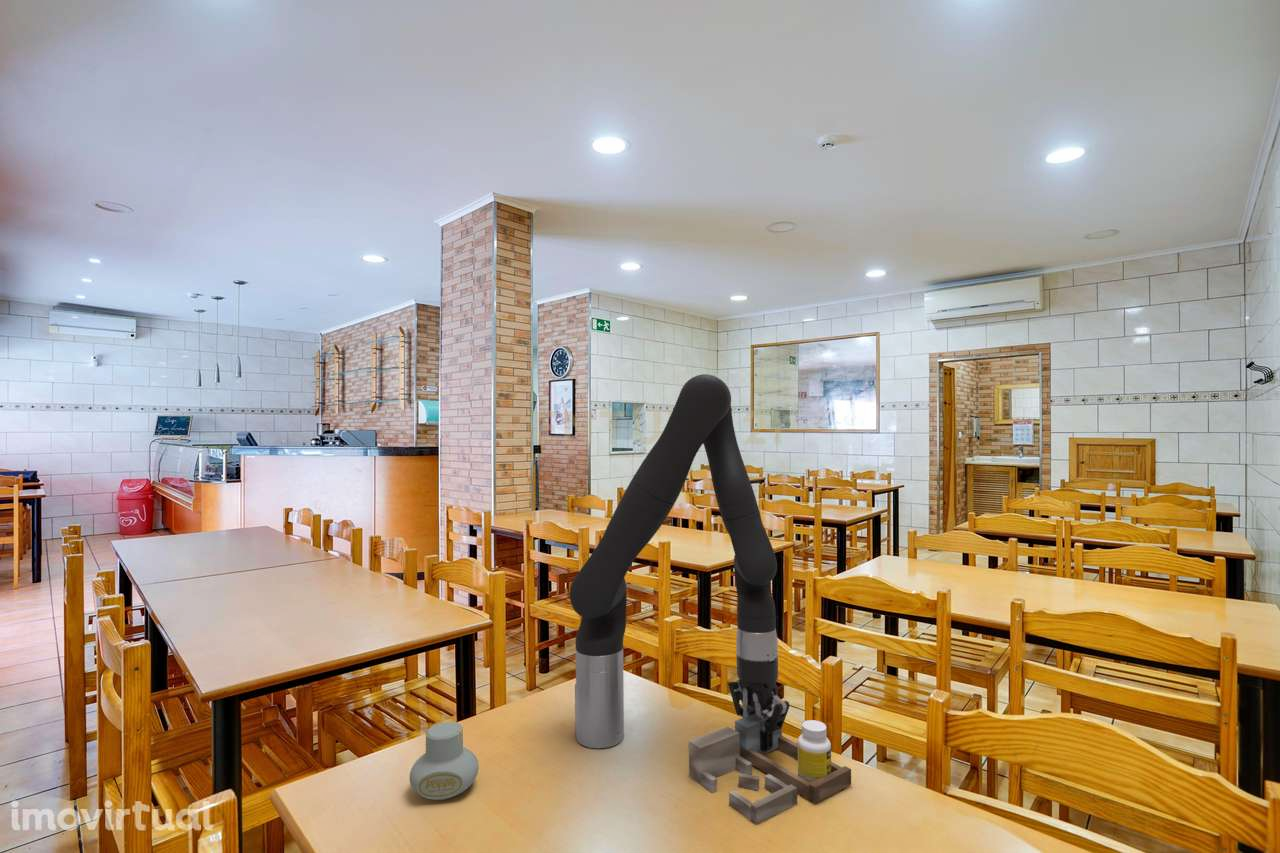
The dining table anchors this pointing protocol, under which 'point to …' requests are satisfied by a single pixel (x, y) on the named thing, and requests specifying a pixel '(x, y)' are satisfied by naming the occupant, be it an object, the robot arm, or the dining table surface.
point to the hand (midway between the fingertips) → (758, 745)
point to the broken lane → (723, 756)
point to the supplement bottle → (813, 751)
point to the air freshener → (444, 764)
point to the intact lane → (753, 754)
